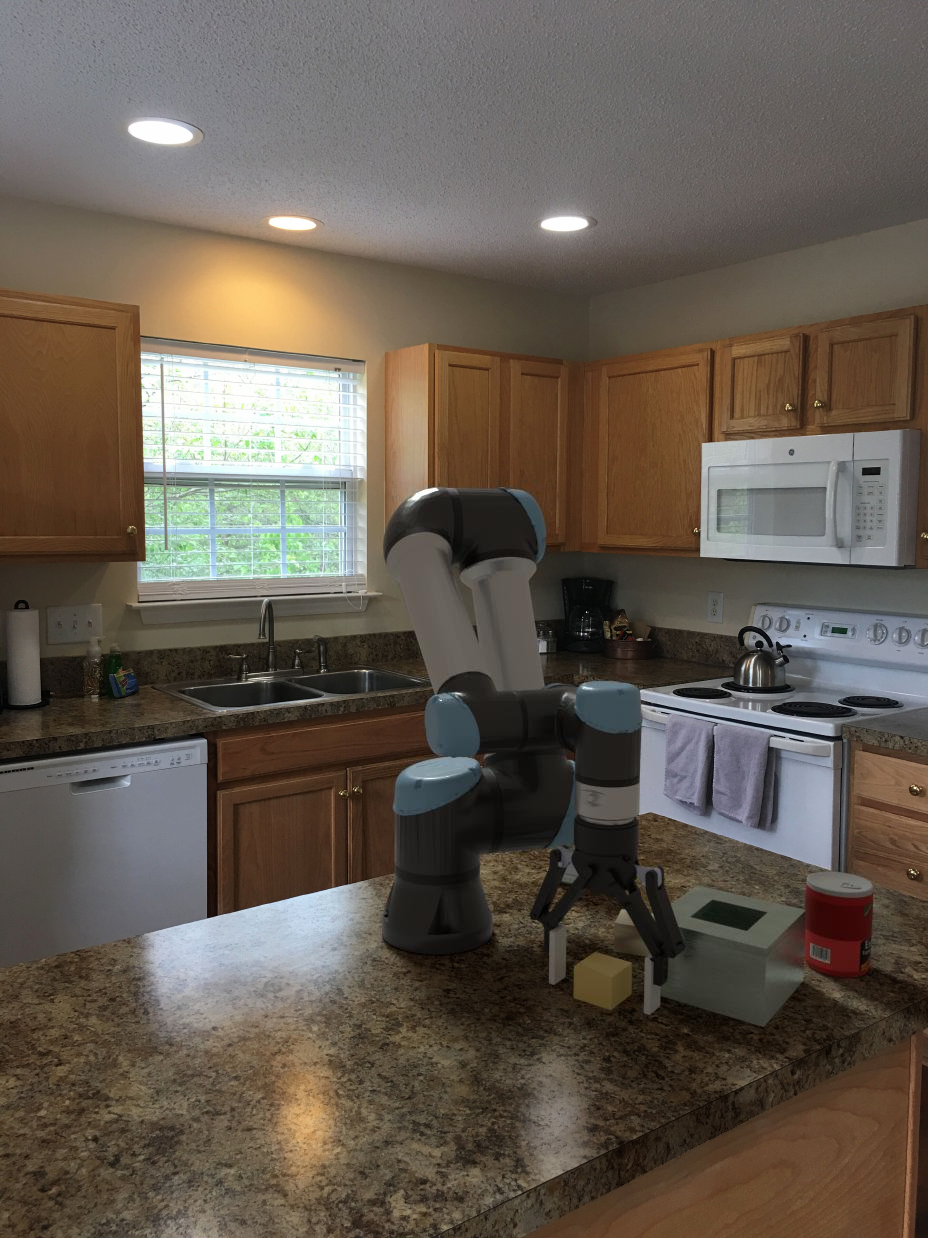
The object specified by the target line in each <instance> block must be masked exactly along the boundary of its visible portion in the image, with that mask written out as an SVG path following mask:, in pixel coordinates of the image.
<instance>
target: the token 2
mask: <svg viewBox="0 0 928 1238" xmlns="http://www.w3.org/2000/svg"><path fill="white" fill-rule="evenodd" d="M650 913H651V912H650ZM651 915H652V916H653V917H654V915H653V912H652V913H651ZM613 923H614V925H613V952H615V953H621V954H627V955H635V956H640V957H642V956H643V957H647V956H648V955H649V950H648V948H647V947H646V945H645V943H644V941H643V940H642V938H641V936H640V934H639V932H638V931H637V929H636V927H635V925H634V924H633V922H632V920H631V918H630V917H629V915H628V913H627V911H626V910H625V909H623V908H621V910H620V911H619V914H618V916H617V917H616V919H615V921H614V922H613Z"/></svg>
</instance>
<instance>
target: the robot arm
mask: <svg viewBox="0 0 928 1238" xmlns="http://www.w3.org/2000/svg"><path fill="white" fill-rule="evenodd" d="M546 529H547V528H546V524H545V518H544V516H543V512H542V510H541V507H540V505H539V504H538V502H537V500H536V499H535V498H534V497H533V496H532V495H531V494H530V493H528V492H527V491H525V490H522V489H512V488H507V487H495V488H481V487H480V488H471V487H470V488H469V487H467V488H466V487H461V488H460V487H459V488H458V487H442V486H441V487H439V486H438V487H437V486H435V487H430V488H426V489H425V488H424V489H422V490H419V491H417V492H415V493H413V494H411V495H410V496H409V497H407V498H406V499H405V500H404V501H403V502H402V503H401V504H399V505H398V507H397V508H396V510H395V511H394V512H393V514H392V515H391V517H390V519H389V520H388V522H387V525H386V528H385V531H384V534H383V540H382V541H383V542H382V551H383V553H382V554H383V559H384V563H385V565H386V568H387V569H386V570H387V571H388V574H389V575H390V577H391V578H392V579H393V580H395V582H397V583H399V585H400V590H401V593H402V596H403V600H404V602H405V605H406V608H407V610H408V611H407V612H408V615H409V618H410V620H411V624H412V626H413V629H414V633H415V636H416V640H417V642H418V646H419V648H420V651H421V655H422V658H423V662H424V664H425V667H426V672H427V674H428V676H429V680H430V683H431V686H432V690H433V692H434V693H433V694H434V695H432V696H431V697H429V699H428V700H427V702H426V706H425V710H424V727H425V732H426V734H425V736H426V740H427V743H428V746H429V748H430V749H431V751H432V752H433V753H434V754H436V755H437V756H439V757H437V758H430V759H427V760H424V761H420V762H417V763H414V764H411V765H409V766H408V767H406V768H405V769H404V770H402V771H401V772H400V773H399V774H398V776H397V778H396V780H395V787H394V799H393V803H392V810H393V812H394V813H393V814H394V815H393V816H394V821H393V822H394V825H393V827H394V878H393V881H392V884H391V887H390V891H389V893H388V897H387V899H386V902H385V907H384V910H383V912H382V915H381V917H382V918H381V935H382V937H383V939H384V940H385V942H387V943H388V944H389V945H391V946H393V947H394V948H398V949H400V950H402V951H406V952H410V953H415V954H422V955H450V954H452V955H453V954H457V953H458V954H459V953H463V952H467V951H472V950H474V949H476V948H479V947H481V946H482V945H484V944H485V943H487V942H488V941H489V940H490V939H491V938H492V935H493V928H494V927H493V925H494V924H493V922H494V920H493V914H492V911H491V909H490V907H489V904H488V899H487V895H486V892H485V889H484V886H483V882H482V879H481V856H482V855H490V854H491V855H493V854H498V853H499V854H501V853H510V852H518V851H519V852H521V851H528V850H529V851H530V850H540V849H541V850H547V849H550V848H552V847H555V846H560V847H557V848H555V849H554V850H552V849H551V851H550V852H549V863H548V864H549V865H548V869H547V871H546V874H545V875H544V878H543V881H542V884H541V886H540V888H539V890H538V893H537V895H536V898H535V900H534V903H533V905H532V907H531V910H530V912H529V918H530V919H531V920H532V921H537V922H539V923H540V924H541V925H542V927H543V950H544V953H546V954H548V955H549V958H548V984H549V985H550V984H551V985H556V984H558V983H559V982H560V981H562V980H563V979H564V978H566V976H567V975H566V974H567V972H566V971H567V968H566V967H567V925H566V924H562V923H561V922H563V921H564V920H563V919H564V917H565V916H566V915H567V914H568V913H569V912H570V911H571V909H573V907H574V905H575V904H576V903H577V902H578V900H579V899H580V898H581V897H582V895H583V894H584V893H585V892H586V891H588V892H589V893H590V894H593V895H602V896H604V897H606V898H610V899H614V898H615V899H616V900H617V902H618V904H619V906H621V907H623V908H624V910H626V911H627V913H628V915H629V917H630V918H631V920H632V922H633V924H634V925H635V927H636V929H637V931H638V932H639V934H640V936H641V938H642V940H643V941H644V943H645V945H646V947H647V948H648V950H649V952H650V955H648V956H645V957H644V991H643V995H644V996H643V1014H646V1015H649V1016H651V1014H653V1013H654V1012H655V1011H656V1010H657V1009H658V1008H660V1006H661V996H660V987H661V986H662V985H663V984H664V983H666V981H667V979H668V958H675V957H676V956H678V955H679V954H680V953H681V952H682V951H684V949H685V944H684V941H683V938H682V935H681V932H680V930H679V927H678V924H677V921H676V918H675V915H674V912H673V909H672V906H671V904H672V903H671V901H670V898H669V895H668V892H667V889H666V886H665V869H664V867H663V866H661V865H656V866H654V867H649V866H644V865H641V864H640V861H639V859H638V852H639V847H640V845H639V844H640V843H639V841H640V836H639V835H640V822H639V821H640V820H639V819H638V818H637V816H639V814H640V804H641V803H640V799H641V798H640V791H641V790H640V789H641V788H640V786H641V785H640V783H641V782H640V781H641V780H640V775H641V755H642V730H643V729H642V727H643V725H642V724H643V723H644V721H643V720H644V718H643V717H644V716H643V713H642V700H641V699H642V696H641V692H640V689H639V688H638V687H637V686H636V685H634V684H631V683H628V682H620V681H613V680H610V681H609V680H595V681H588V682H587V681H586V682H584V683H582V684H579V686H575V685H574V684H569V683H565V684H564V683H559V682H556V683H550V684H548V685H545V681H544V674H543V667H542V661H541V654H540V648H539V640H538V635H537V629H536V628H537V627H536V623H535V621H536V620H535V616H534V609H533V602H532V595H531V591H530V590H531V589H530V583H529V582H530V581H529V580H531V578H532V577H533V575H535V573H536V571H537V564H538V563H539V562H540V561H541V560H542V559H543V557H544V555H545V551H546V545H547V542H546V541H545V538H546V537H547V530H546ZM451 566H457V567H458V573H459V574H458V575H459V580H460V582H462V584H464V585H465V586H467V587H468V588H470V589H471V593H472V600H473V602H472V603H473V608H474V616H475V623H476V631H477V635H476V631H475V629H474V626H473V624H472V621H471V618H470V615H469V614H468V611H467V608H466V605H465V603H464V600H463V596H462V594H461V591H460V589H459V586H458V584H457V581H456V580H457V579H456V578H455V575H454V572H453V570H452V567H451ZM566 750H568V751H569V752H572V753H573V754H574V760H571V759H567V752H566ZM480 755H484V756H483V762H484V767H483V768H482V766H481V764H480V762H479V761H478V760H476V759H475V758H473V756H480ZM573 841H574V846H575V850H574V851H572V850H569V849H568V847H567V846H566V845H567V844H569V843H571V842H573ZM571 862H572V864H573V866H574V868H575V870H576V871H577V873H578V877H577V878H576V879H575V880H574V882H573V883H572V884H571V885H569V888H568V889H567V890H566V892H565V893H564V894H563V895H562V897H561V898H560V899H559V901H558V902H557V903H556V904H555V905H554V907H553V908H552V909H551V906H552V904H553V902H554V899H555V897H556V895H557V893H558V890H559V888H560V885H561V884H562V883H561V881H562V878H563V876H564V874H565V871H566V869H567V866H569V865H570V864H571ZM638 878H639V879H640V880H641V885H642V886H643V887H645V892H646V893H645V894H646V896H647V900H648V903H649V907H650V909H651V911H650V910H649V908H648V906H647V904H646V902H645V901H644V899H643V897H642V891H641V890H640V887H639V886H638V885H637V882H636V880H637V879H638ZM627 891H628V894H627ZM550 909H551V910H550ZM651 912H652V913H653V915H654V918H655V920H654V918H653V916H652V915H651ZM655 921H656V922H655ZM559 923H560V924H559Z"/></svg>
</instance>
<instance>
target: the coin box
mask: <svg viewBox="0 0 928 1238" xmlns="http://www.w3.org/2000/svg"><path fill="white" fill-rule="evenodd" d="M671 906H672V909H673V912H674V915H675V918H676V921H677V924H678V927H679V930H680V932H681V935H682V938H683V941H684V944H685V949H684V951H682V952H681V953H680V954H679V955H678V956H676V957H675V958H668V979H667V981H666V983H664V984H663V985H662V986H661V987H660V997H662V998H666V999H670V1000H674V1001H676V1002H680V1003H683V1004H686V1005H690V1006H693V1007H696V1008H700V1009H703V1010H706V1011H708V1012H711V1013H716V1014H719V1015H723V1016H727V1017H730V1018H732V1019H736V1020H739V1021H743V1022H746V1023H749V1024H753V1025H756V1026H759V1027H763V1028H764V1027H766V1025H767V1024H768V1023H769V1022H770V1020H771V1019H772V1018H773V1017H774V1016H775V1015H776V1013H777V1012H778V1011H779V1010H780V1009H781V1007H783V1005H784V1004H785V1003H786V1002H787V1001H788V999H790V997H791V996H792V995H793V993H794V992H796V990H797V988H799V987H800V986H801V984H802V983H803V982H804V967H805V966H804V965H805V958H804V945H805V919H806V910H805V908H804V909H802V908H799V907H794V906H790V905H785V904H781V903H776V902H773V901H769V900H764V899H759V898H754V897H752V896H751V897H750V896H747V895H741V894H736V893H733V892H728V891H725V890H720V889H715V888H710V887H707V886H702V885H695V886H694V887H693V888H691V889H689V890H688V891H687V892H686V893H685V894H683V895H681V896H680V897H679V898H678V899H676V900H674V901H673V902H672V903H671ZM653 918H654V917H653ZM654 920H655V918H654ZM655 922H656V921H655ZM649 955H650V952H649Z"/></svg>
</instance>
